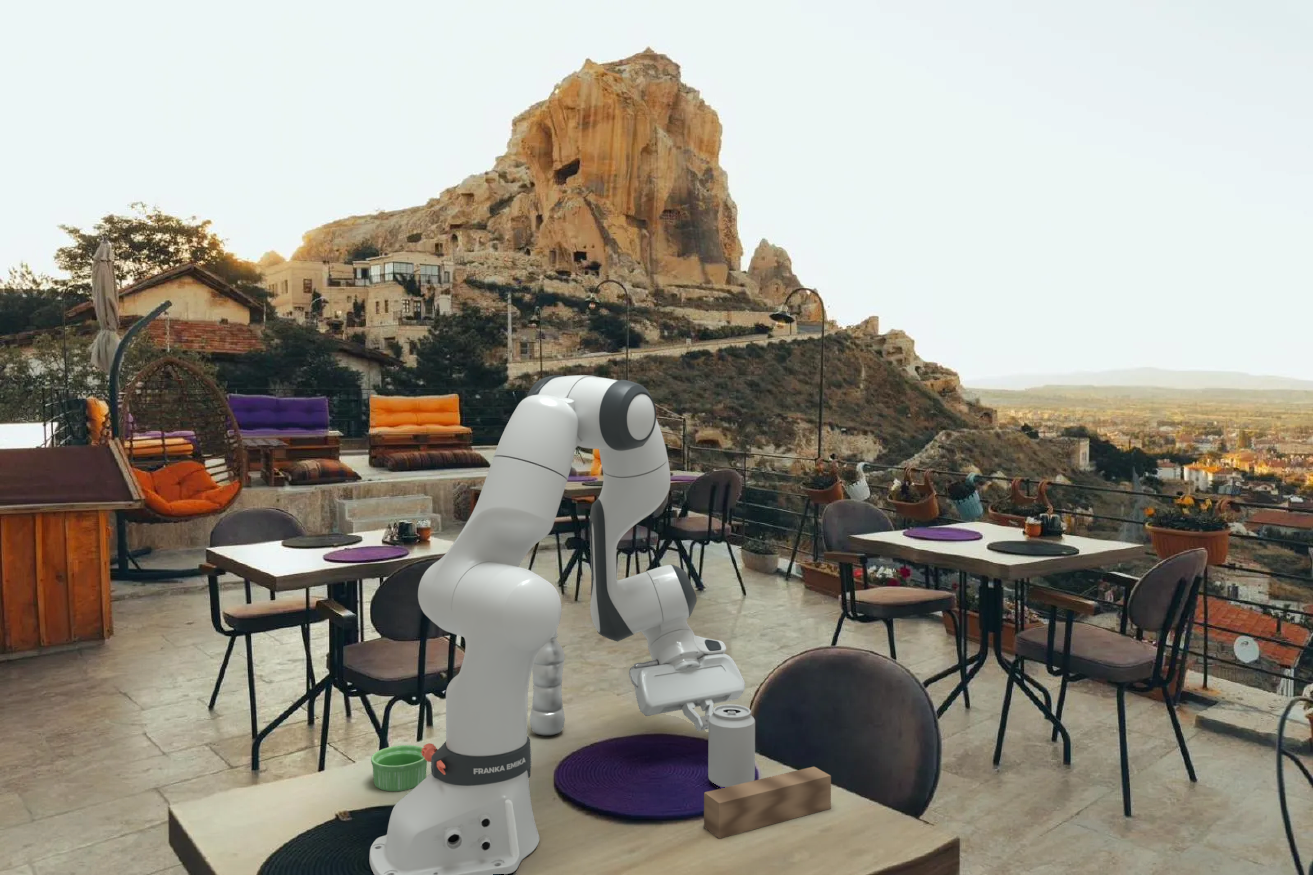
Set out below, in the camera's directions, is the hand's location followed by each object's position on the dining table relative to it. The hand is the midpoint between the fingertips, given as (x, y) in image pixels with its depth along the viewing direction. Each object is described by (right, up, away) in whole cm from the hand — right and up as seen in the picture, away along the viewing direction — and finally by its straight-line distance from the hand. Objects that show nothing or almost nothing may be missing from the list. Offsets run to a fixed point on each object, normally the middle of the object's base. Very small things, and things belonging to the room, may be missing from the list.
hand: (706, 728), depth 147 cm
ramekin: (-50, -7, -6) cm, 51 cm away
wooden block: (+8, -7, -19) cm, 22 cm away
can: (+4, -7, -7) cm, 10 cm away
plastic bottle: (-29, -6, +15) cm, 33 cm away
